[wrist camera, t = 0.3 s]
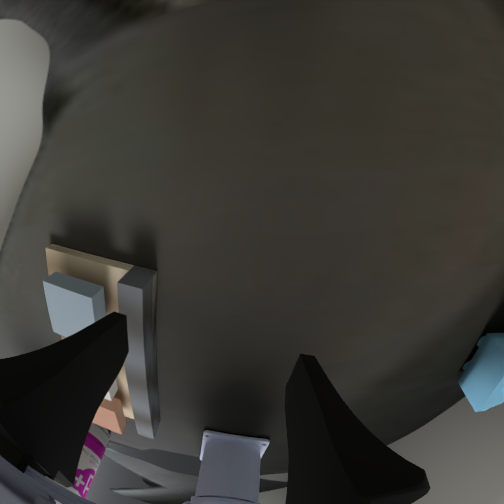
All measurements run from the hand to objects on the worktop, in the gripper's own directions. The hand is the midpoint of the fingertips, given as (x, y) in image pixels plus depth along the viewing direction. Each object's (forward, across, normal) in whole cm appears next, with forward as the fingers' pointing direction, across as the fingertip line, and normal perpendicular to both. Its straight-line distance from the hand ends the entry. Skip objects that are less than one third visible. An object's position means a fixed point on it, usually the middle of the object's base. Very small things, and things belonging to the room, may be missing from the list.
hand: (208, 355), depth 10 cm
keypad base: (+10, +11, +13) cm, 20 cm away
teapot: (+10, -31, +5) cm, 33 cm away
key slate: (+7, +12, +6) cm, 15 cm away
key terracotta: (+7, +11, +20) cm, 24 cm away
